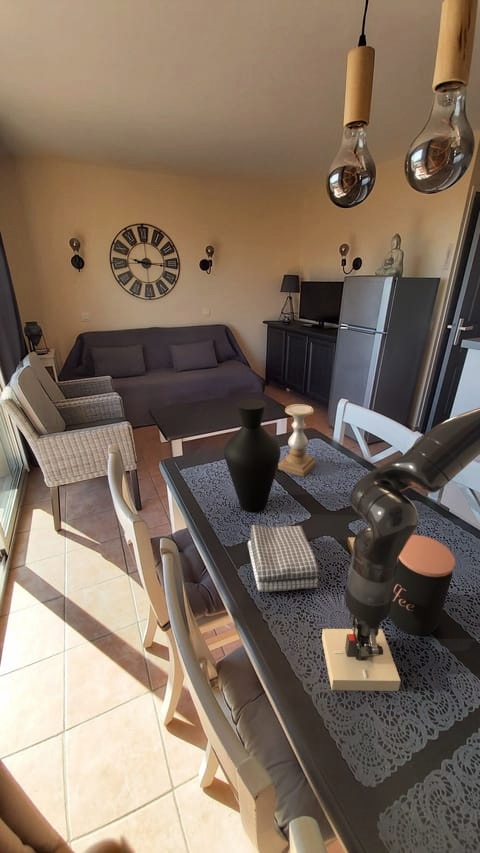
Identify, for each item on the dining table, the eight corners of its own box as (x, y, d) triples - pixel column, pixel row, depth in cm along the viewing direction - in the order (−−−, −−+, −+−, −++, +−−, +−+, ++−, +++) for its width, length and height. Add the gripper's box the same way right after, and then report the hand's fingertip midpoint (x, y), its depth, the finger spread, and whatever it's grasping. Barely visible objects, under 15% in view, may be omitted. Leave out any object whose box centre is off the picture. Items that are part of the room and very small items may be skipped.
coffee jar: (377, 595, 84) (388, 534, 77) (424, 595, 84) (439, 534, 76) (394, 638, 74) (408, 573, 67) (447, 639, 74) (467, 574, 67)
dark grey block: (371, 648, 69) (373, 633, 68) (373, 657, 68) (376, 641, 66) (344, 648, 70) (347, 633, 68) (346, 656, 68) (349, 641, 66)
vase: (240, 528, 107) (235, 419, 93) (219, 497, 121) (212, 400, 107) (289, 512, 113) (293, 408, 99) (264, 485, 128) (264, 391, 113)
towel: (257, 598, 84) (257, 573, 81) (247, 543, 101) (246, 521, 98) (320, 590, 86) (322, 566, 83) (299, 538, 102) (300, 515, 99)
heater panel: (380, 638, 74) (382, 628, 73) (398, 691, 65) (400, 680, 64) (321, 638, 75) (322, 628, 74) (331, 690, 66) (332, 679, 64)
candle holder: (277, 469, 137) (278, 410, 128) (290, 457, 146) (292, 401, 136) (303, 477, 132) (306, 416, 122) (316, 464, 140) (319, 406, 130)
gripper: (407, 622, 55) (391, 691, 62) (379, 556, 68) (368, 620, 75) (358, 621, 56) (348, 690, 63) (338, 556, 68) (331, 619, 75)
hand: (359, 651), depth 69 cm, fingers closed on dark grey block
